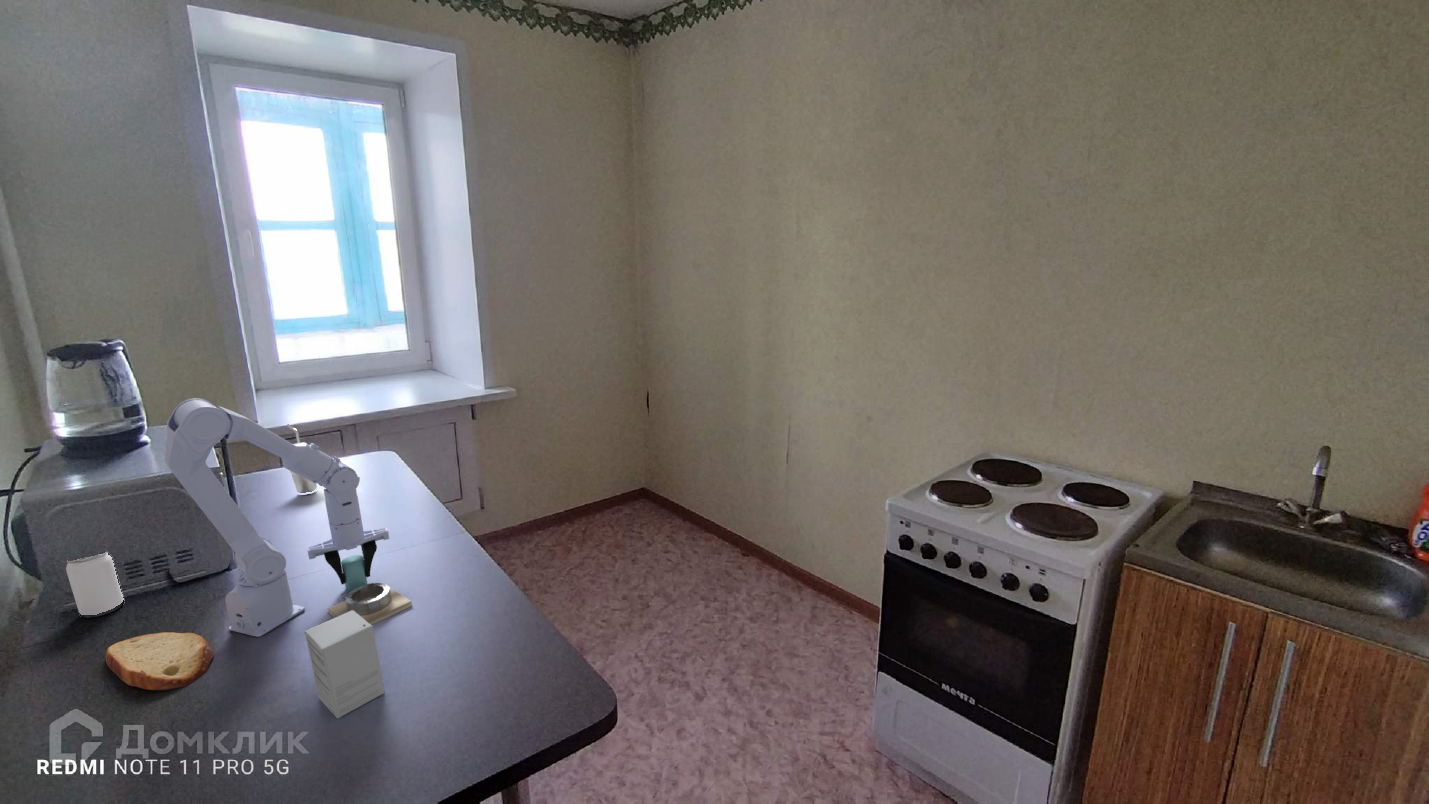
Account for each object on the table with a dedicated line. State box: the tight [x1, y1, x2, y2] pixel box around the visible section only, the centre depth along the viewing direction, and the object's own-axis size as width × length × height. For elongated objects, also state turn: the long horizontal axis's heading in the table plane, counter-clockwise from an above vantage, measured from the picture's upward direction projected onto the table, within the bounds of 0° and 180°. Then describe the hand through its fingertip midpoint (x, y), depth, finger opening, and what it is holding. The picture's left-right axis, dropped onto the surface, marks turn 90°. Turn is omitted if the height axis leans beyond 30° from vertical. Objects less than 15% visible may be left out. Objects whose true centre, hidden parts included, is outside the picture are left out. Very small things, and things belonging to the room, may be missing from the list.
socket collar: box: [344, 582, 392, 616], centre depth 122 cm, size 8×8×2 cm
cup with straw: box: [286, 423, 318, 493], centre depth 177 cm, size 8×9×20 cm
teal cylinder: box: [341, 554, 368, 592], centre depth 130 cm, size 4×4×6 cm
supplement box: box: [304, 610, 385, 719], centre depth 97 cm, size 7×7×13 cm
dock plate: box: [327, 586, 413, 626], centre depth 122 cm, size 11×11×1 cm
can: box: [65, 550, 125, 615], centre depth 121 cm, size 6×6×12 cm
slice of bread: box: [105, 631, 214, 691], centre depth 106 cm, size 18×18×4 cm
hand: (355, 578), depth 130 cm, fingers closed on teal cylinder, 4 cm apart
